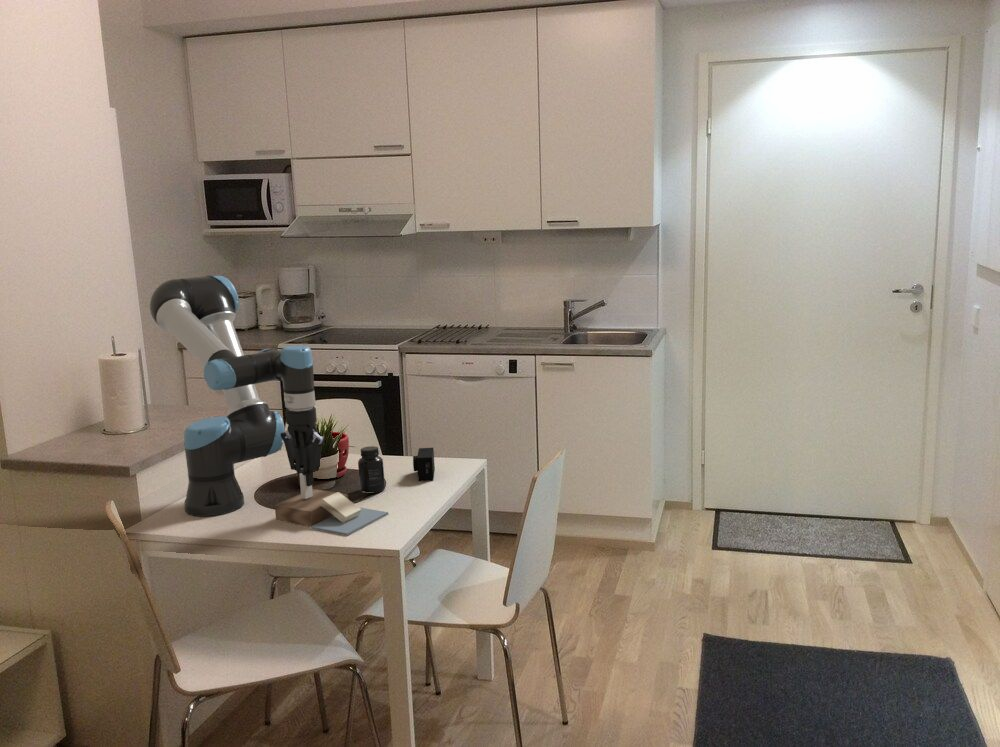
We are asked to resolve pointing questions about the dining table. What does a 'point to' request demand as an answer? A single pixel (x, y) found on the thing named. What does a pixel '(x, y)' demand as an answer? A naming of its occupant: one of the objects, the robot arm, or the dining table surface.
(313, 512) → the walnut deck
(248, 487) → the dining table surface
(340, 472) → the plant pot
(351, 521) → the rubber mat
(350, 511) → the birch tile
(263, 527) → the dining table surface
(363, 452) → the supplement bottle
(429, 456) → the digital camera
